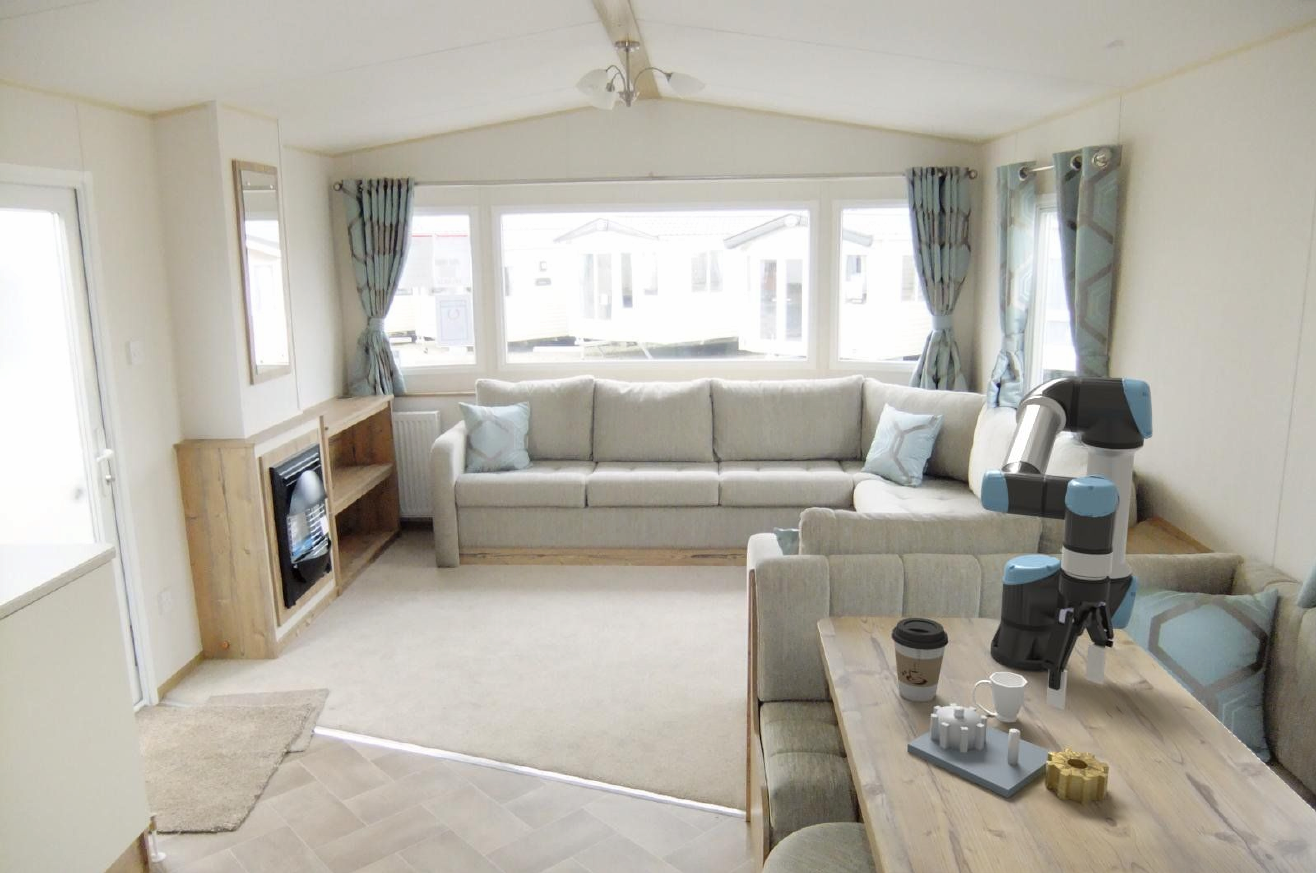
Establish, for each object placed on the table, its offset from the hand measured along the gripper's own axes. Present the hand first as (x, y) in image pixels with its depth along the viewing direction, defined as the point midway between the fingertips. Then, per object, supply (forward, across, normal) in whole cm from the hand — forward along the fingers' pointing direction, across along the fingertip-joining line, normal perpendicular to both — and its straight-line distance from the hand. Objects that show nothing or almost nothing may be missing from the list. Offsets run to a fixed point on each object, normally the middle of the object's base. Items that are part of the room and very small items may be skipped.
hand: (1075, 693), depth 157 cm
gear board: (+17, +2, -15) cm, 23 cm away
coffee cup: (+17, -10, -37) cm, 42 cm away
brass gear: (+17, -1, +1) cm, 17 cm away
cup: (+17, -14, -21) cm, 31 cm away
